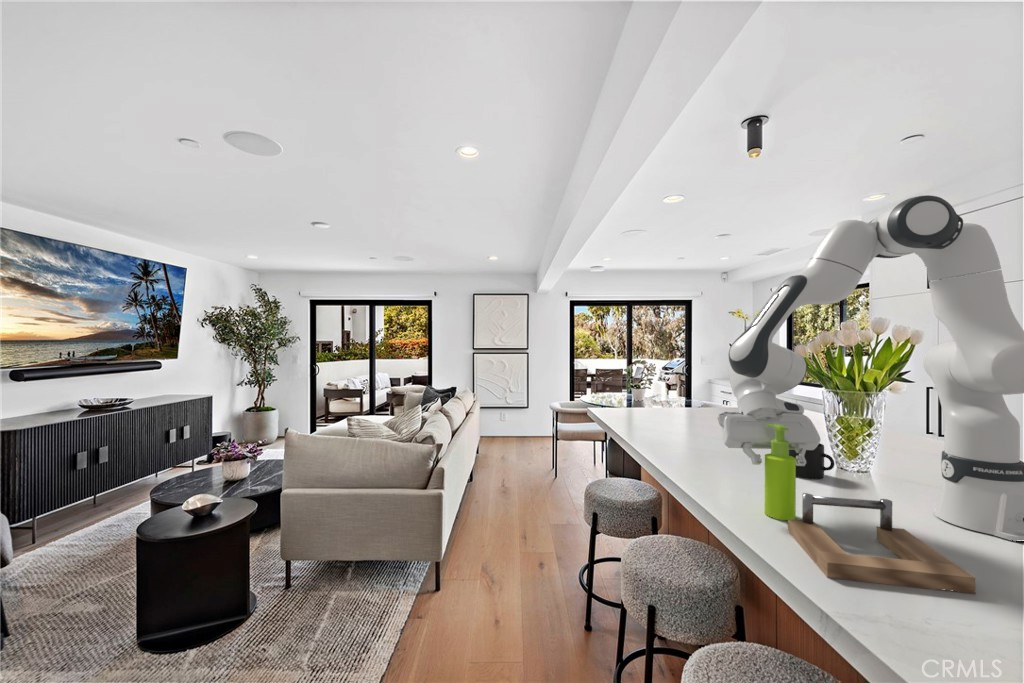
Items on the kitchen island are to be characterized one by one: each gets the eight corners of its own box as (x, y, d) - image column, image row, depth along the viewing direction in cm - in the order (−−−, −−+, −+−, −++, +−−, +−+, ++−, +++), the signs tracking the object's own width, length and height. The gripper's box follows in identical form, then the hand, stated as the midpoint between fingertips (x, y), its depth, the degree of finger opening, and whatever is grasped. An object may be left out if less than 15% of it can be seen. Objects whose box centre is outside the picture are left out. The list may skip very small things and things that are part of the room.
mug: (828, 484, 119) (828, 451, 119) (779, 473, 129) (779, 442, 128) (839, 477, 125) (839, 445, 125) (792, 467, 134) (792, 438, 134)
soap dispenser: (781, 508, 103) (781, 422, 103) (801, 520, 96) (802, 428, 96) (756, 508, 103) (756, 422, 102) (775, 521, 96) (775, 428, 95)
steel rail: (888, 527, 86) (889, 499, 86) (894, 531, 85) (894, 502, 85) (800, 519, 90) (801, 492, 90) (804, 523, 88) (804, 496, 88)
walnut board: (903, 541, 86) (903, 528, 86) (975, 593, 68) (975, 577, 68) (787, 531, 91) (787, 519, 91) (827, 577, 73) (827, 562, 73)
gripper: (718, 404, 107) (734, 455, 98) (809, 405, 105) (834, 458, 95) (712, 419, 112) (726, 469, 102) (799, 420, 109) (822, 472, 100)
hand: (779, 464), depth 99 cm, fingers open, 8 cm apart
